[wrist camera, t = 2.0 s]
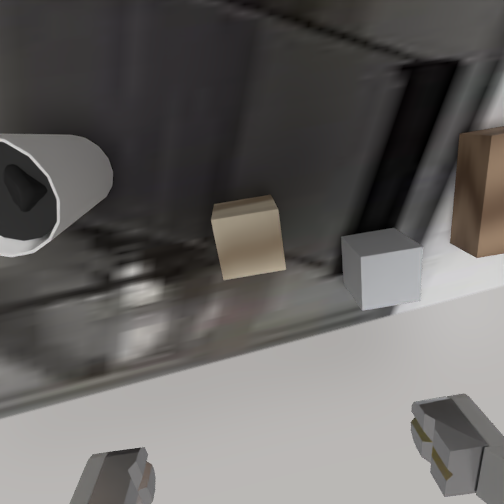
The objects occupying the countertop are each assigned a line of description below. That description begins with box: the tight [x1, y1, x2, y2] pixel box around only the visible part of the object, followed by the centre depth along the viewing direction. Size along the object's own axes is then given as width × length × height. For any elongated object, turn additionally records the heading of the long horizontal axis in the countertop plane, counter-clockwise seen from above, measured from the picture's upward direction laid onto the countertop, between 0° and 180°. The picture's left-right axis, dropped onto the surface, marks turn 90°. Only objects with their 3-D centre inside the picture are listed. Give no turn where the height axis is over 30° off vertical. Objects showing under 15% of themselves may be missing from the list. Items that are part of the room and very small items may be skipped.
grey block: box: [341, 228, 423, 311], centre depth 29 cm, size 5×5×5 cm
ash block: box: [211, 195, 286, 280], centre depth 27 cm, size 5×5×5 cm
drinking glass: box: [0, 134, 113, 257], centre depth 22 cm, size 7×7×10 cm
